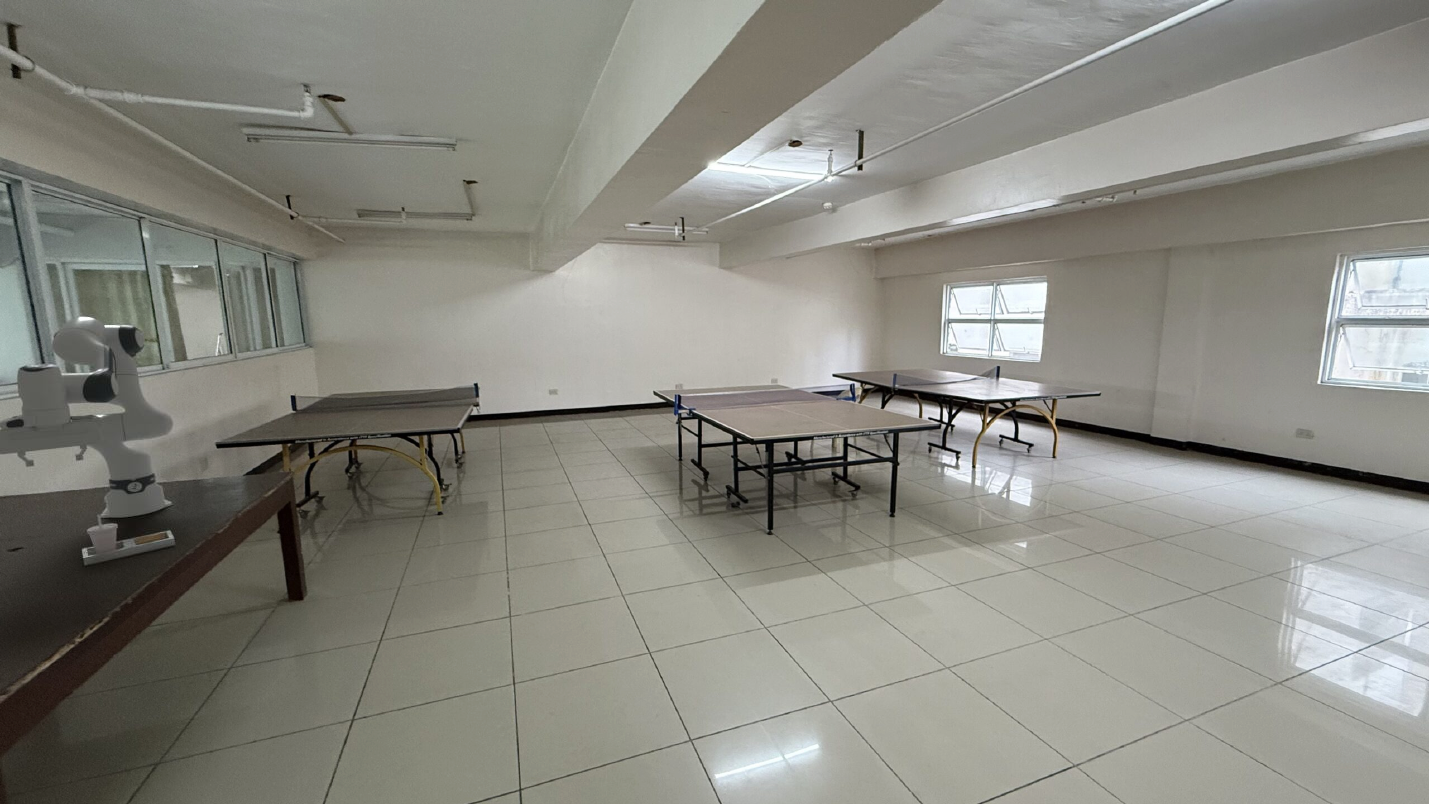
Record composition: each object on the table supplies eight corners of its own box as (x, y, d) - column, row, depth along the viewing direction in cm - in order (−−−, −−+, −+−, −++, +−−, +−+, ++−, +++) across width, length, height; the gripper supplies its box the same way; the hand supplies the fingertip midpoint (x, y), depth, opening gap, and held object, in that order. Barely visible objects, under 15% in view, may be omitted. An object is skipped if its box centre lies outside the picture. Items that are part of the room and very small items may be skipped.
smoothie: (85, 561, 163) (77, 518, 161) (103, 552, 169) (95, 511, 167) (111, 559, 165) (104, 517, 163) (127, 550, 171) (121, 509, 169)
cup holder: (83, 556, 166) (81, 548, 166) (171, 537, 182) (170, 530, 181) (84, 565, 160) (83, 558, 160) (175, 545, 176) (174, 538, 175)
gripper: (99, 412, 167) (106, 455, 169) (-9, 421, 151) (0, 468, 153) (101, 415, 163) (108, 458, 165) (-10, 424, 147) (-1, 471, 149)
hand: (55, 463), depth 159 cm, fingers open, 8 cm apart
